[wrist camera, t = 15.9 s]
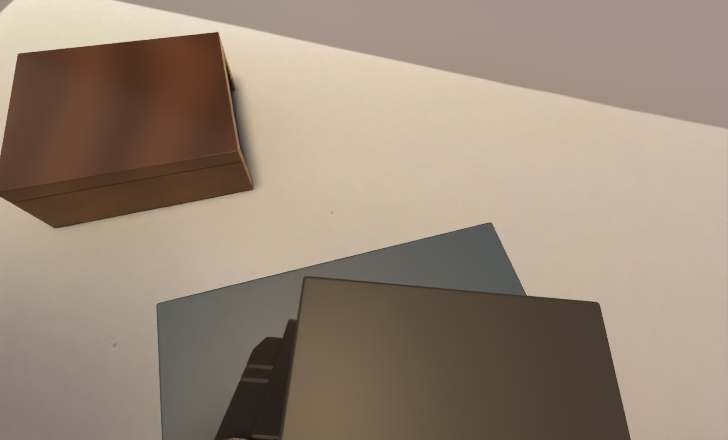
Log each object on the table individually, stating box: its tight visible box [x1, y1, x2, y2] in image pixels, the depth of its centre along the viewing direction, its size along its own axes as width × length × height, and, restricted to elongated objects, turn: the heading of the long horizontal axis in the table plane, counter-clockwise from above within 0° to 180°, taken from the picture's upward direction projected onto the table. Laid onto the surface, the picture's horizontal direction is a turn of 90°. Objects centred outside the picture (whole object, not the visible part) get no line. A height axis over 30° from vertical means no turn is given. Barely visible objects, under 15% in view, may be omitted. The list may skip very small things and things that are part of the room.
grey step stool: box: [157, 223, 527, 440], centre depth 17 cm, size 14×12×11 cm
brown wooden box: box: [0, 32, 253, 228], centre depth 27 cm, size 14×12×5 cm
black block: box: [279, 276, 631, 440], centre depth 8 cm, size 5×5×8 cm
